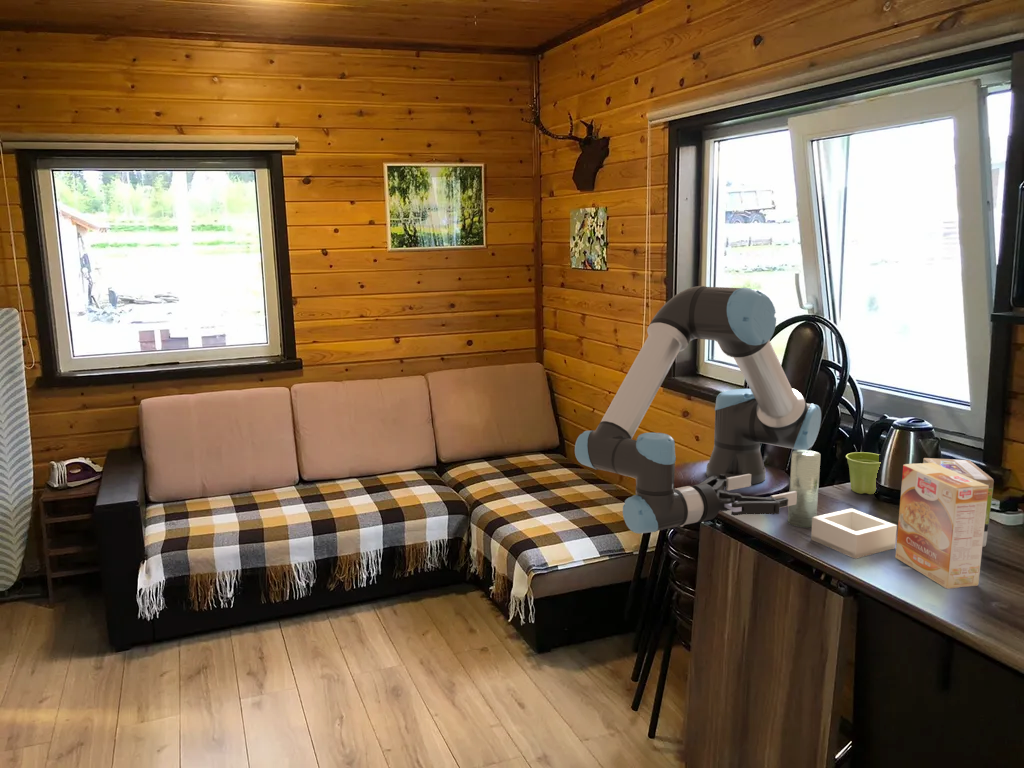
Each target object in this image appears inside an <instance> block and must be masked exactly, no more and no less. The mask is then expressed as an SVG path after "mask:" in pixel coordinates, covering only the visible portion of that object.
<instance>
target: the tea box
mask: <svg viewBox="0 0 1024 768" xmlns="http://www.w3.org/2000/svg"><path fill="white" fill-rule="evenodd" d="M922 463H935V464H938V465H940V466H942V467H945V468H947V469H950V470H952V471H954V472H957V473H959V474H962V475H964V476H966V477H969V478H971V479H974V480H976V481H978V482H981V483H983V484H986V485H989V489H988V498H987V508H986V517H985V527H984V536H983V545H982V548H984V547H986V545H987V541H988V535H989V534H988V533H989V532H988V531H989V524H990V515H991V508H992V498H993V493H994V483H995V481H994V480H995V479H994V478H992V477H991V476H990V475H989V474H988V473H986V472H985V471H983V469H981V468H980V467H979V466H978V465H976V464H975V463H974V462H972V461H971V460H969V459H968V460H966V459H953V458H952V459H950V458H930V457H924V458H923V461H922Z"/></svg>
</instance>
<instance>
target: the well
mask: <svg viewBox="0 0 1024 768" xmlns="http://www.w3.org/2000/svg"><path fill="white" fill-rule="evenodd" d="M897 532H898V524H896V523H893V522H889V521H887V520H884V519H881V518H879V517H875V516H873V515H870V514H868V513H867V512H866V513H865V512H862V511H860V510H858V509H855V508H852V507H851V508H846V509H842V510H838V511H833V512H829V513H825V514H820V515H817V516H815V517H812V527H811V533H810V534H811V535H810V540H811V541H813V542H816V543H817V544H818V543H819V544H820V545H823V546H825V547H828V549H829V548H830V549H832V550H834V551H836V552H838V553H840V554H843V555H846V556H848V557H850V558H852V559H861V558H863V557H867V556H872V555H874V554H879V553H883V552H886V551H891V550H894V549H896V544H897Z"/></svg>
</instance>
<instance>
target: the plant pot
mask: <svg viewBox="0 0 1024 768" xmlns="http://www.w3.org/2000/svg"><path fill="white" fill-rule="evenodd" d="M879 455H880V454H878V453H873V452H864V451H860V452H857V451H855V452H850V453H847V454H846V455H845V459H847V464H848V468H849V469H848V470H849V480H850V488H851V491H853V492H854V493H857V494H868V495H874V493H875V491H876V478H877V473H878V470H879V467H880V464H881V462H879ZM875 494H876V493H875Z"/></svg>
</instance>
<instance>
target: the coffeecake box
mask: <svg viewBox="0 0 1024 768" xmlns="http://www.w3.org/2000/svg"><path fill="white" fill-rule="evenodd" d="M901 476H902V477H901V478H902V479H901V488H900V499H899V509H898V510H899V511H898V513H899V514H898V524H897V532H896V544H895V557H894V558H895V559H896V560H898V561H901V562H902V563H904V564H905V565H907V566H909V567H910V568H912V569H914V570H916V571H917V572H919V573H920V574H921V575H924V577H926V578H928V579H930V580H932V582H935V583H937V584H938V585H940V586H942V587H943V588H944V589H947V590H950V589H958V588H965V587H969V588H970V587H976V586H977V587H978V585H979V582H980V573H981V572H980V571H981V564H982V563H981V562H982V553H983V547H982V545H983V536H984V527H985V517H986V508H987V498H988V489H989V485H986V484H983V483H981V482H978V481H976V480H974V479H971V478H969V477H966V476H964V475H962V474H959V473H957V472H954V471H952V470H950V469H947V468H945V467H942V466H940V465H938V464H935V463H923V462H922V463H921V462H920V463H914V462H912V463H905V464H903V465H902V475H901Z"/></svg>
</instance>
